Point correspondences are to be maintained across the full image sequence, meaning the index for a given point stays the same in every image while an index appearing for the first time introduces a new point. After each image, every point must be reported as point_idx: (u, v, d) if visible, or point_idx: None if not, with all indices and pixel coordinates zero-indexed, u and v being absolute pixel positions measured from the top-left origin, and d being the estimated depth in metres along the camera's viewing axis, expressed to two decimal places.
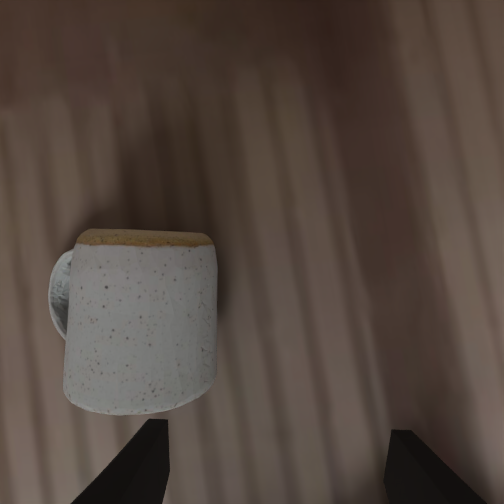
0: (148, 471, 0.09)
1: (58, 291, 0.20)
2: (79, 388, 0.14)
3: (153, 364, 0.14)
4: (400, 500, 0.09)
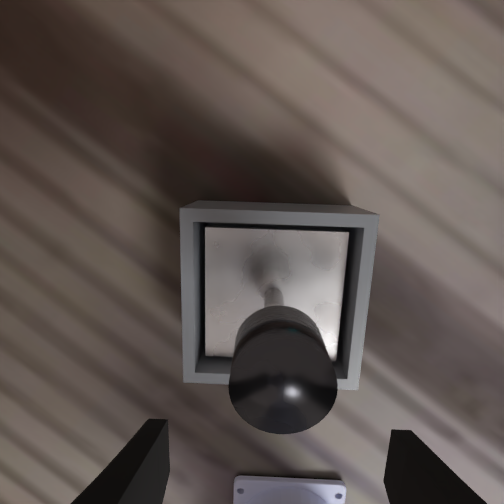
0: (148, 471, 0.09)
1: None
2: None
3: None
4: (400, 500, 0.09)
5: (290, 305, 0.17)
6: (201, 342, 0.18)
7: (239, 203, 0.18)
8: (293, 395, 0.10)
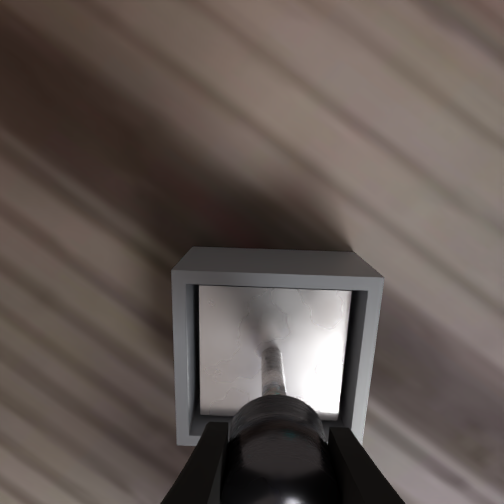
0: (220, 474, 0.09)
1: None
2: None
3: None
4: None
5: (289, 364, 0.16)
6: (196, 397, 0.18)
7: (235, 253, 0.17)
8: None
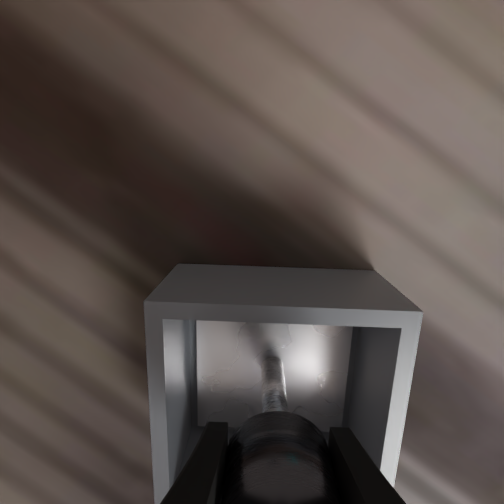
0: (219, 474, 0.09)
1: None
2: None
3: None
4: None
5: (291, 374, 0.15)
6: (181, 449, 0.14)
7: (229, 273, 0.14)
8: None
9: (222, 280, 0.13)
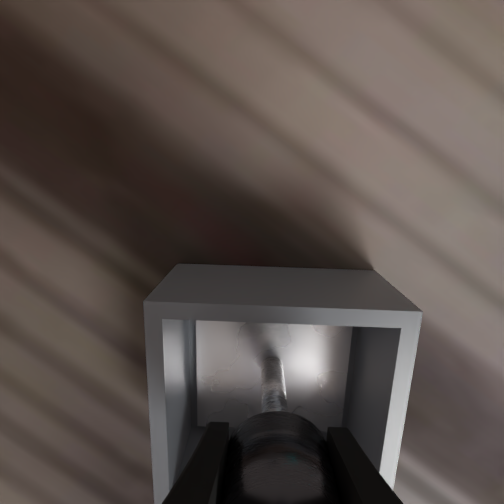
0: (221, 474, 0.09)
1: None
2: None
3: None
4: None
5: (290, 374, 0.15)
6: (181, 449, 0.14)
7: (229, 273, 0.14)
8: None
9: (222, 280, 0.13)
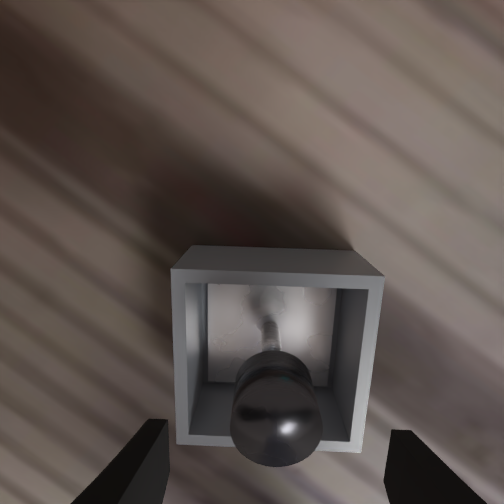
0: (148, 471, 0.09)
1: None
2: None
3: None
4: (400, 500, 0.09)
5: (285, 336, 0.18)
6: (196, 396, 0.17)
7: (235, 251, 0.17)
8: (285, 435, 0.11)
9: (230, 256, 0.16)
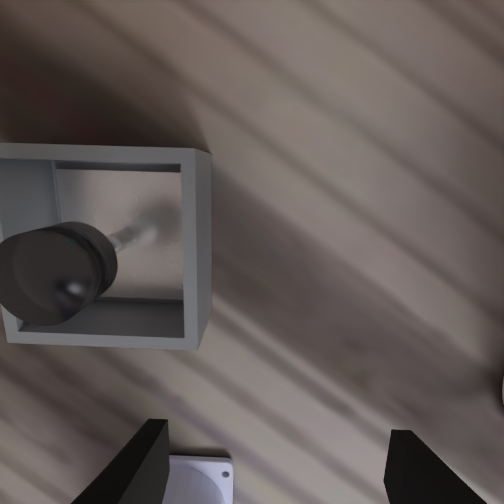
0: (148, 471, 0.09)
1: None
2: None
3: None
4: (400, 500, 0.09)
5: (143, 245, 0.18)
6: None
7: None
8: (48, 287, 0.11)
9: None
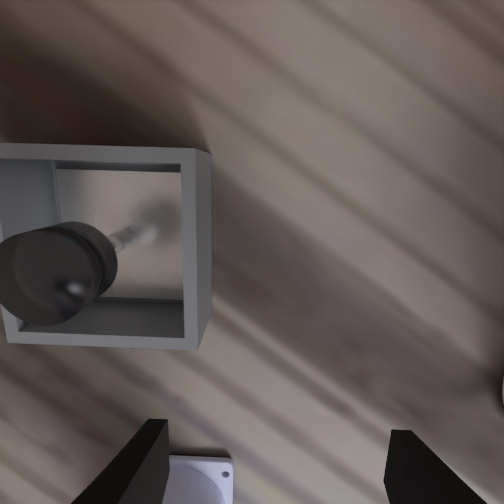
0: (148, 471, 0.09)
1: None
2: None
3: None
4: (400, 500, 0.09)
5: (143, 245, 0.18)
6: None
7: None
8: (48, 287, 0.11)
9: None
